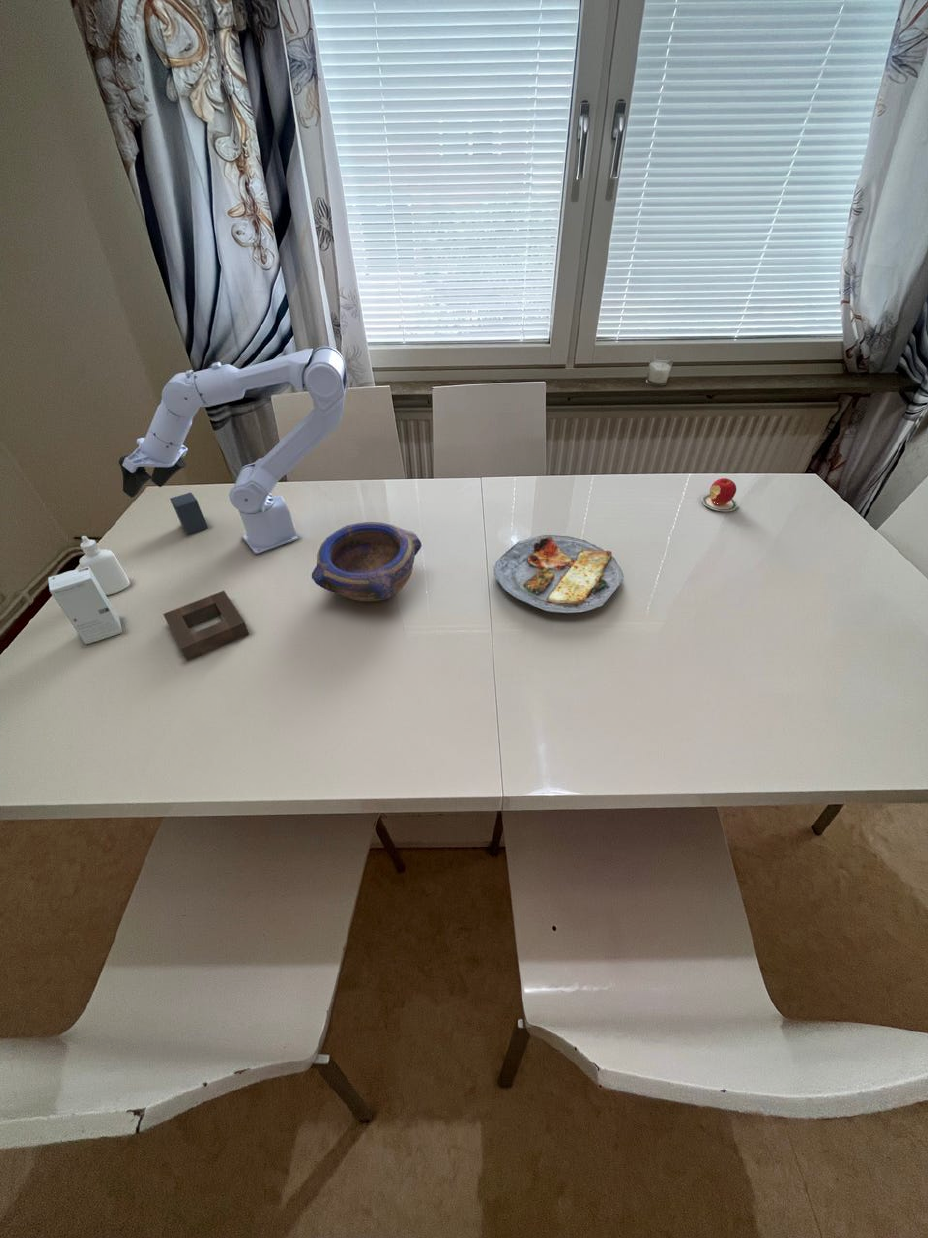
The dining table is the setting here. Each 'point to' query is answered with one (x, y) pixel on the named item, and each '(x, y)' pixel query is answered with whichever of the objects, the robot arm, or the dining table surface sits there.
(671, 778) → the dining table surface
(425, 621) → the dining table surface
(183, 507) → the dark grey rectangular block
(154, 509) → the dining table surface
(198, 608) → the frame
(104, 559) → the eye dropper bottle
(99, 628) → the cosmetic box
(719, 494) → the apple
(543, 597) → the food plate
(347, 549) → the bowl
